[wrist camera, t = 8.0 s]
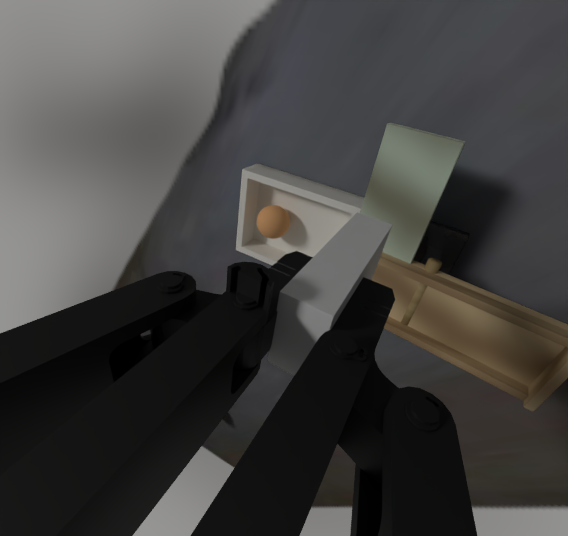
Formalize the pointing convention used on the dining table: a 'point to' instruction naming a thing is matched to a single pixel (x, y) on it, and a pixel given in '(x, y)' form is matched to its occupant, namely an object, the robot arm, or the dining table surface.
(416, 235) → the lever
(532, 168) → the dining table surface
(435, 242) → the fulcrum
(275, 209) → the ball
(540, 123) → the dining table surface
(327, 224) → the dish
